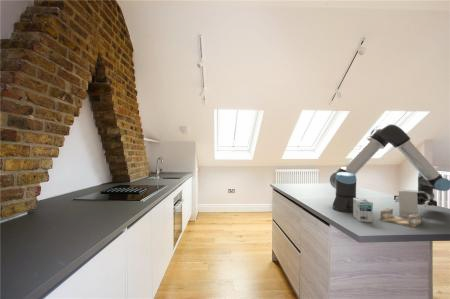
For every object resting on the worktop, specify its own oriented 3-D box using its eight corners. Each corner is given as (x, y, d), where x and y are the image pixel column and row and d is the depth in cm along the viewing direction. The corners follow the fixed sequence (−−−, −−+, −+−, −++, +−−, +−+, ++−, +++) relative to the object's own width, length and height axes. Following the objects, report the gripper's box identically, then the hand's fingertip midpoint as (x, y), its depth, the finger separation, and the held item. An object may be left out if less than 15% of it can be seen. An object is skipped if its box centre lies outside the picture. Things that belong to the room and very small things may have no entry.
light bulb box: (373, 222, 122) (373, 202, 122) (359, 221, 123) (359, 201, 123) (365, 217, 132) (365, 198, 132) (352, 216, 134) (352, 197, 134)
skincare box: (417, 218, 132) (418, 190, 132) (417, 220, 127) (417, 192, 127) (399, 215, 138) (399, 188, 138) (398, 217, 133) (398, 190, 133)
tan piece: (379, 219, 127) (379, 210, 127) (388, 216, 134) (388, 207, 134) (413, 227, 115) (414, 217, 115) (421, 223, 122) (421, 213, 122)
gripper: (448, 208, 135) (439, 213, 123) (397, 200, 155) (384, 204, 143) (448, 195, 135) (439, 199, 123) (397, 189, 155) (385, 192, 143)
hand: (410, 202), depth 133 cm, fingers open, 13 cm apart
